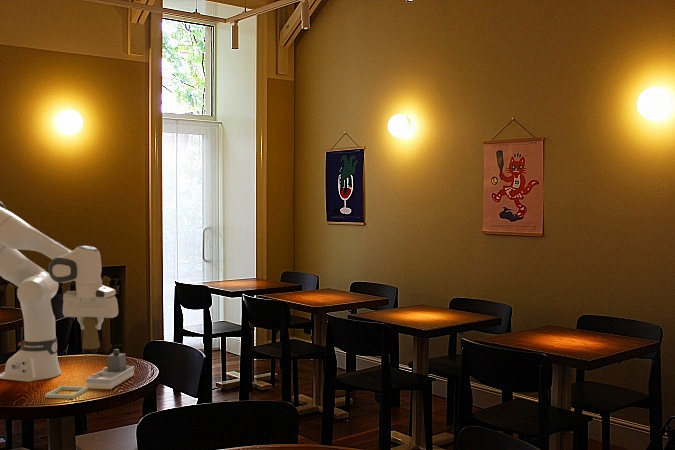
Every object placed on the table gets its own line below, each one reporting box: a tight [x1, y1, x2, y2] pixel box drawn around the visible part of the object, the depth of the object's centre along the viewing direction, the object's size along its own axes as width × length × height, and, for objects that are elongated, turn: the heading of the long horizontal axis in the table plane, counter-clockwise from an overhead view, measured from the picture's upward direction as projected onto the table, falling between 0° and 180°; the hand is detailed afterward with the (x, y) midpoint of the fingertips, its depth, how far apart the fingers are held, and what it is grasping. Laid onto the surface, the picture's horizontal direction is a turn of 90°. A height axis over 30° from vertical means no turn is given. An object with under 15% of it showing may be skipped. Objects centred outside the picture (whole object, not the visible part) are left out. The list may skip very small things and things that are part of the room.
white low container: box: [85, 365, 135, 390], centre depth 268 cm, size 10×19×4 cm, turn 171°
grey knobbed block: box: [106, 348, 127, 372], centre depth 272 cm, size 5×5×9 cm
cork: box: [82, 317, 101, 350], centre depth 258 cm, size 6×6×11 cm
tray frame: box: [44, 385, 89, 400], centre depth 252 cm, size 10×10×1 cm
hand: (91, 329), depth 258 cm, fingers closed on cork, 4 cm apart
